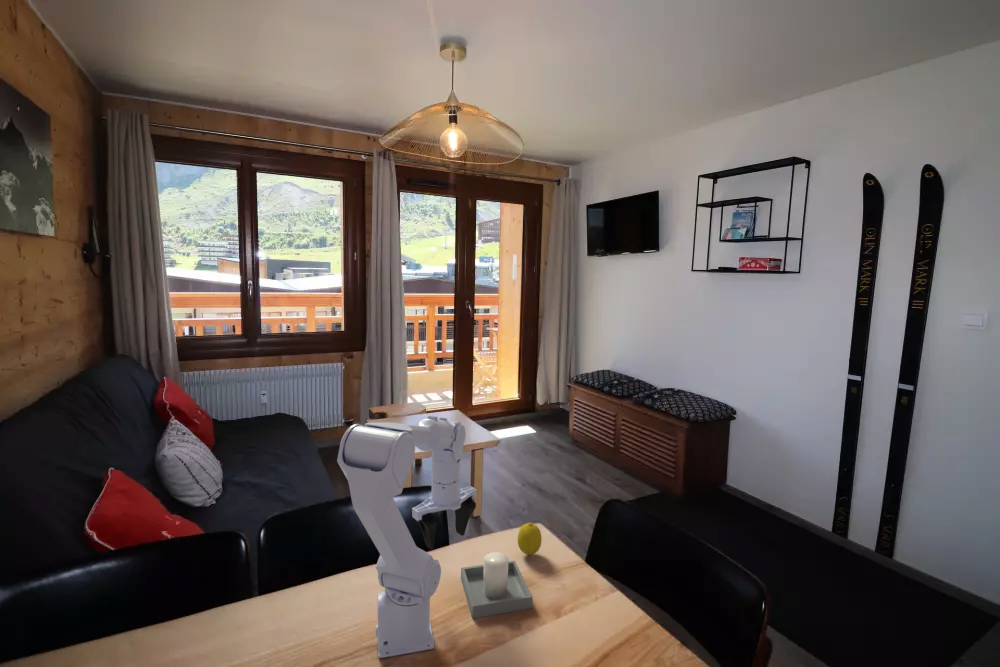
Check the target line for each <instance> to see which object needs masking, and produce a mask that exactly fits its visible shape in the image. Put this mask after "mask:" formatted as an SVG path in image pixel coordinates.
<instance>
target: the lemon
mask: <svg viewBox="0 0 1000 667" xmlns="http://www.w3.org/2000/svg"><path fill="white" fill-rule="evenodd" d="M541 533H542V532H541V530H540V528H539V526H537V525H536V524H535V523H532V522H528V523H525V524H523V525H521V527H520V529H519V531H518V534H517V546H518V548H519V550H520V551H521V553H523V554H525V555H527V556H531V555H535V554H536V553H537V552H539V550H540V548H541V546H542V540H543V538H542V534H541Z"/></svg>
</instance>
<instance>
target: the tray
mask: <svg viewBox="0 0 1000 667" xmlns="http://www.w3.org/2000/svg"><path fill="white" fill-rule="evenodd" d="M519 568H520V567H519V566H518V564H517V563H516V561H515V560H510V561H509V560H508V586H507V594H506V596H504V597H503V598H500V599H491V598H488V597H486V596H485V595H484V593H483V572H484V564H481V565H479V564H478V565H472V566H471V565H470V566H465V567H460V581H461V584H462V587H463V590H464V594H465V597H466V598H465V599H466V602H467V605H468V607H469V611H470V615H471V618H472V619H475V618H481V617H488V616H494V615H500V614H505V613H506V614H507V613H513V612H514V613H515V612H519V611H524V610H531V609H533V595H532V593H531V591H530V589H529V587H528V585H527V583H526V580H525V578H524V576H523V575H522V572H521V570H520V569H519Z"/></svg>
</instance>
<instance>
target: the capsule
mask: <svg viewBox="0 0 1000 667" xmlns="http://www.w3.org/2000/svg"><path fill="white" fill-rule="evenodd" d="M508 561H509V557H508V556H507V555H506V554H504V553H503V552H498V551H492V552H490V553H487V554H486V555H485V556H484V557H483V565H484V572H483V593H484V595H485V596H486V597H488V598H491V599H500V598H503V597H504V596H506V594H507V586H508Z"/></svg>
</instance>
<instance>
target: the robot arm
mask: <svg viewBox="0 0 1000 667" xmlns="http://www.w3.org/2000/svg"><path fill="white" fill-rule="evenodd" d="M466 435H467V433H466V427H465V425H463V424H462V422H460V421H454V420H448V418H447V417H438V416H434V415H427V418H424V419H423V418H422V419H421V420H419V421H417V422H416V423H415V424H407V423H398V422H392V421H391V422H367V423H364V425H363V424H360V423H355V424H352V425H350V427H348V428H347V429H346V431H345V432H344V434H343V436H342V438H341V440H340V443H339V449H338V452H337V453H338V454H337V459H336V462H337V464H338V465H339V468H340V470H341V471H342V472H343V474H344V476H345V478H346V480H347V483H348V487H349V492H350V498H351V503H352V507H353V509H354V511H355V513H356V515H357V517H358V518H359V520H360V522H361V524H362V525H363V526H364V529H365V530H366V532H367V534H368V536H369V537H370V539H371V541H372V542H373V544H374V546H375V548H376V549H377V550H378V551H377V552H378V553H379V557H378V559H377V563H376V566H375V570H376V571H377V579H378V583H379V585H380V587H382V588H384V591H381V592H378V593H377V596H376V597H377V599H376V600H377V604H376V605H377V624H375V637H377V652H378V654H377V655H378V658H379V659H383V658H389V657H394V656H399V655H400V656H401V655H407V654H411V653H417V652H423V651H427V650H433V649H434V648H435V641H434V636H433V635H434V634H433V631H432V625H431V619H430V616H431V615H430V614H431V597H432V596H434V594H435V593H436V592H437V589H438V587H439V584H440V580H441V574H442V567H441V564H440V561H439V560H438V559H436V558H434V557H433V556H432V554H430V553H428V552H427V551H425V550H424V549H421V548H419V547H418V546H417V545H416V543H415V541H414V538H413V537H412V534H411V532H410V530H409V528H408V526H407V524H406V522H405V520H404V518H403V515H402V514H401V511H400V510H399V508H398V505H397V503H396V501H395V499H394V497H397V496H399V495H401V494H402V492H403V489H404V486H405V484H406V481H407V478H408V475H409V473H410V469H411V466H412V463H413V461H414V459H415V458H414V457H415V454H416V448H417V449H418V450H420V451H423V452H431V496H429V497H428V498H427V499H425V500H424V501H422V502H421V503H419V504H418V505H416V506H414V507H412V508H411V512H412V513H411V514H412V515H411V517H412V518H413V519H415V521H416V522H417V524H418V526H419V528H420V530H421V533H422V536H423V539H424V544H425V546H426V547H427V548H428V549H429V550H430V551H432V550H433V549H434V548H435V545H436V544H435V542H436V541H435V538H436V535H435V534H436V529H437V526H438V523H439V522H438V521H437V520H436V519H435V518H434V515H432V514H435V513H437V512H441V511H446V510H451V511H454V514H455V517H454V519H455V524H454V525H455V532H456V533H458V535H459V536H462V537H463V536H465V533H466V529H467V526H468V523H469V521H470V518H471V515H472V514H473V513H474V511H475V510H476V508H477V507H476V506H477V502H476V501H474V499H477V489H476V488H475V487H473V486H467V487H462V488H461V458H462V456H463V454H464V445H465V441H466Z"/></svg>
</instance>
